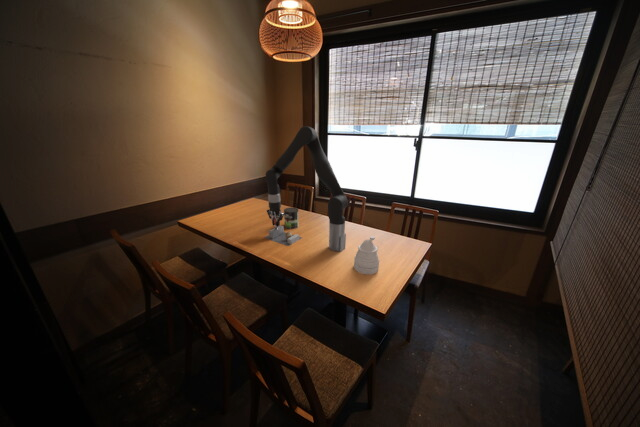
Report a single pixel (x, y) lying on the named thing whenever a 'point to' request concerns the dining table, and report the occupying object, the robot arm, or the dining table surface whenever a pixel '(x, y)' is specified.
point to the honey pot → (367, 257)
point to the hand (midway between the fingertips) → (276, 225)
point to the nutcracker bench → (285, 239)
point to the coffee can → (291, 218)
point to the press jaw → (276, 230)
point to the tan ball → (288, 234)
